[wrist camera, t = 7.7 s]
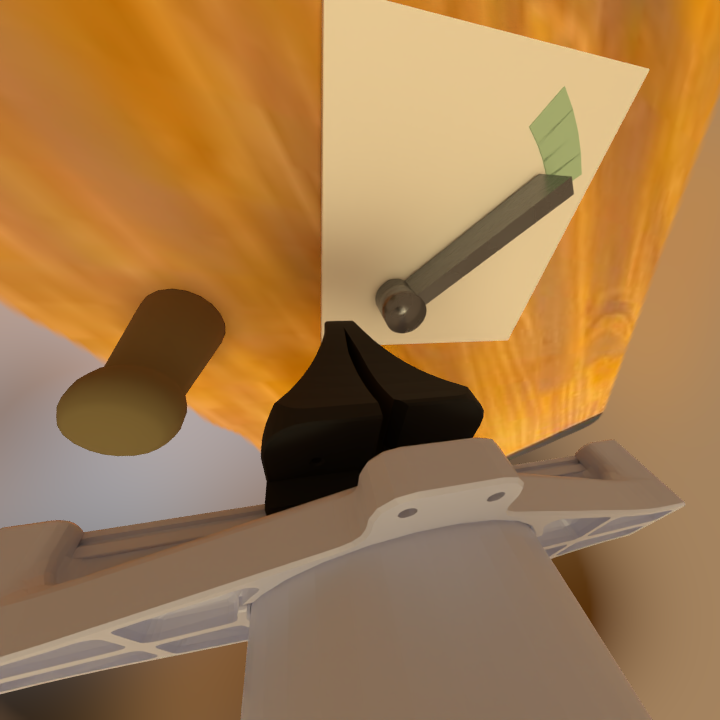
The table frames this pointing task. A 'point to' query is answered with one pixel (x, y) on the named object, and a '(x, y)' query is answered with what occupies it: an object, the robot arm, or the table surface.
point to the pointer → (469, 251)
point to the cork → (144, 377)
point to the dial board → (448, 157)
